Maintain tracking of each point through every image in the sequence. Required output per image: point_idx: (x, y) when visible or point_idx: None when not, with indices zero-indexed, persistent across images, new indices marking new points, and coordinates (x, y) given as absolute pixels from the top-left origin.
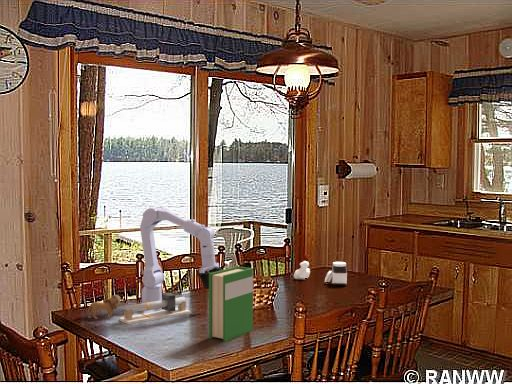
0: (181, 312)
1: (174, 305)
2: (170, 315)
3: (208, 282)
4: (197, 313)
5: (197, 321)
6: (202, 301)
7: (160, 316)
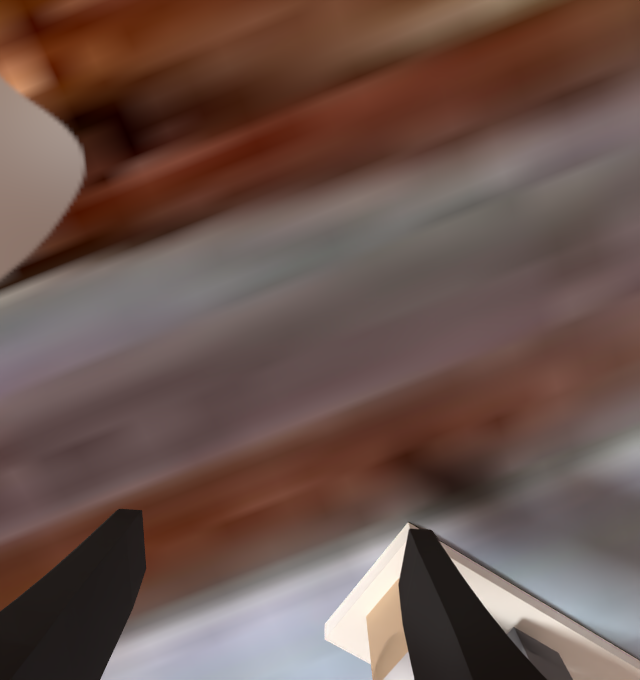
0: (476, 579)
1: (541, 672)
2: (557, 617)
3: (492, 618)
4: (391, 477)
5: (633, 383)
6: (15, 583)
7: (625, 660)
